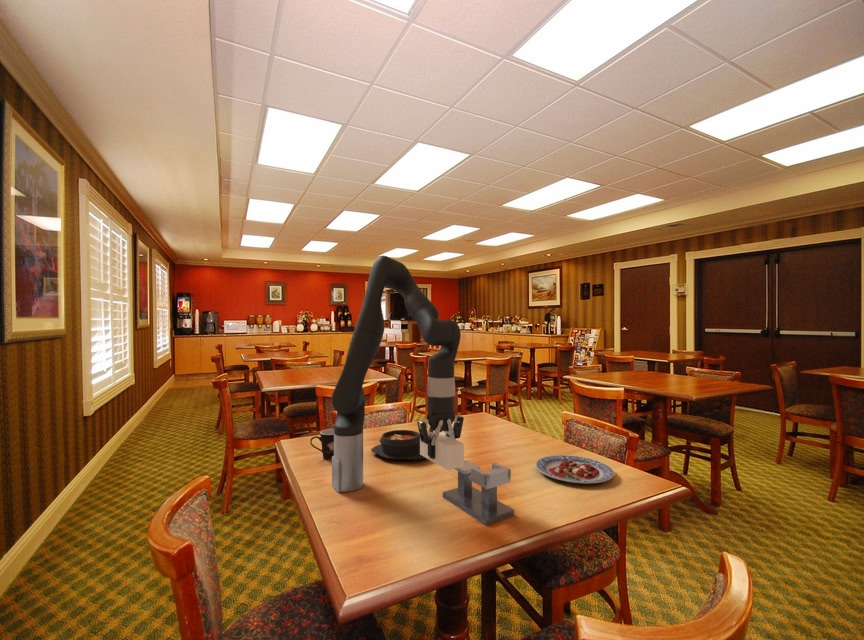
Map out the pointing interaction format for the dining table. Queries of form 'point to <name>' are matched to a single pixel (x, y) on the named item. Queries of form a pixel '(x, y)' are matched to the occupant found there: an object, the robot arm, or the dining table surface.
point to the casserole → (399, 445)
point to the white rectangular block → (445, 452)
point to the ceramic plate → (574, 469)
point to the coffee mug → (326, 443)
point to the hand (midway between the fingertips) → (440, 456)
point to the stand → (480, 492)
